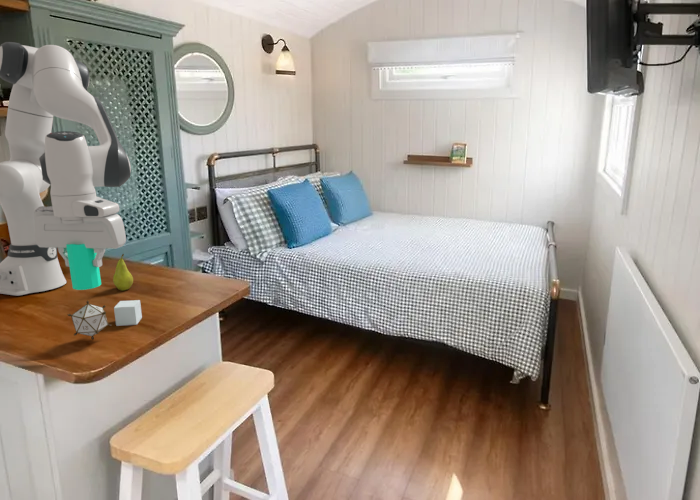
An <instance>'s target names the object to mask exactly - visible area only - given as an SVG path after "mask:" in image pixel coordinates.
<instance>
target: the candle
mask: <svg viewBox="0 0 700 500" xmlns="http://www.w3.org/2000/svg"><path fill="white" fill-rule="evenodd" d="M66 246H67V254H68V261H69V273H70V279H71V280H70V281H71V285H72V286H71V287H72V289H73V290H76V291H84V290H85V291H86V290H92V289H95V288H98V287H100V286H101V285H102V279H101V272H100V267H93V265H92V260H94V259H95V257H96V254H97V253H94V248H86V246H85V244H79V245H78V244H66Z"/></svg>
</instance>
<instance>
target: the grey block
mask: <svg viewBox="0 0 700 500" xmlns="http://www.w3.org/2000/svg"><path fill="white" fill-rule="evenodd" d="M113 310H114V311H113V312H114V319H115V325H116V327H119V326H135V325H136V326H138V324H139V322H140V321H141V320H142V318H143V313H142V305H141V300H140V299H135V300H119V302H117V304H116V305H115V306H114V307H113Z"/></svg>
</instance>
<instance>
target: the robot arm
mask: <svg viewBox="0 0 700 500" xmlns="http://www.w3.org/2000/svg"><path fill="white" fill-rule="evenodd" d="M0 79H1V80H3V81H5V82H7V83H9V84H12V88H11V90H10V91H11V92H10V94H9V95H10V96H9V100H8V105H7V107H8V108H7V113H6V121H5V129H4V136H5V138H6V140H7V143H8V148H9V160H4V161H1V162H0V207H1V209H2V211H3V213H4V216H5V220H6V222H7V226H8V227H7V228H8V233H9V238H10V244H9V245H6V246H4V247H3V248H4V250H3V251H4V252H5V251H8V252H7V256H6V257H5V258H4V259H3V260H2V261H0V294H3V295H8V296H9V295H10V296H15V297H16V296H18V297H19V296H23V295H28V294H33V293H39V292H45V291H46V292H47V291H49V290H54V289H57V288H60V287H62V286H64V285H65V284H67V282H68V281H67V280H66V277H65V275H64V274H63V271H62V268H61V266H60V262H59V259H58V258H59V257H58V253H59V255H60V256H61V257H62V258H63V260H64V263H65V267H69V261H68V254H67V246H66V244H78V245H79V244H85V246H86V248H94V253H97V254H96V257H95V259H94V260H92V265H93V267H99V268H100V267H102V266H103V257H104V255H105V253H106V250H107V249H109V250H111V249H113V250H116V249H119V248H121V247H124V245H126V242H127V236H126V229H125V224H124V221H123V219H122V217H121V215H119V214H118V213H119V212H120V204H119V203H116V202H115V201H111V200H109V199H105V198H102V197H100V196H97V191H96V188H98V187H105V188H120V187H122V186H123V185H124V184H125V183H126V182H127V181H128V180H129V179H130V178H131V171H132V167H131V166H132V165H131V162H130V159H129V157H128V154H127V153H126V151H125V149H124V147H123V145H122V144H121V142H120V140H119V137H118V135H117V133H116V131H115V128H114V126H113V124H112V122H111V120H110V117H109V115H108V113H107V111H106V109H105V107H104V104H103V103H102V101H101V100H100V99H99V98H98V97H96V96H94V95H93V94H91V93H90V92H89V91H87V90H88V88H89V85H90V72H89V69H88V67H87V65H86V64H85V63H84V62H82V61H80V60H78V59H76V58H74V56H73V54H72V53H71V52H70V51H69V50H68V49H66V48H65V47H62V46H60V45H56V44H46V45H42V46H41V47H34V46H31V45H30V46H29V45H23V44H21V43H20V42H14V41H13V42H12V41H5V42H3V43H1V44H0ZM54 117H56V118H59V119H61V120H67V121H72V122H76V123H80V124H83V125H85V126H87V127H90V128H91V129H92V130H93V131H94V134H95V135H96V137H97V140H98V142H99V145H88V143H87V140H86V137H85V135H84V134H82V133H80V132H77V131H71V130H70V131H69V130H63V131H62V130H61V131H53V132H52V128H53V122H54ZM49 187H50V192H49V193H50V194H49V195H50V199H51V201H50V202H51V206H45V205H44V203H43V200H42V198H41V195H40V194H42V193H43V192H45V191H46V190H47V189H49ZM69 268H70V267H69Z"/></svg>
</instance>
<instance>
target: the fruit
mask: <svg viewBox="0 0 700 500" xmlns="http://www.w3.org/2000/svg"><path fill="white" fill-rule="evenodd" d="M124 256H125V254H124V253H122V254H121V257H120V259H118V261H117V263H116V265H115V271H114V272H115V273H114V274H113V277H112V282H113V284H114V286H115V288H117V289H118V290H119V291H121V292H123V291H127V290H129V289H131V287H132V286H133V283H134V277H133V275H132V274H131V272H130V271H129V269H128V268H127V265H126V263H125V261H124V259H123V257H124Z"/></svg>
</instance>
